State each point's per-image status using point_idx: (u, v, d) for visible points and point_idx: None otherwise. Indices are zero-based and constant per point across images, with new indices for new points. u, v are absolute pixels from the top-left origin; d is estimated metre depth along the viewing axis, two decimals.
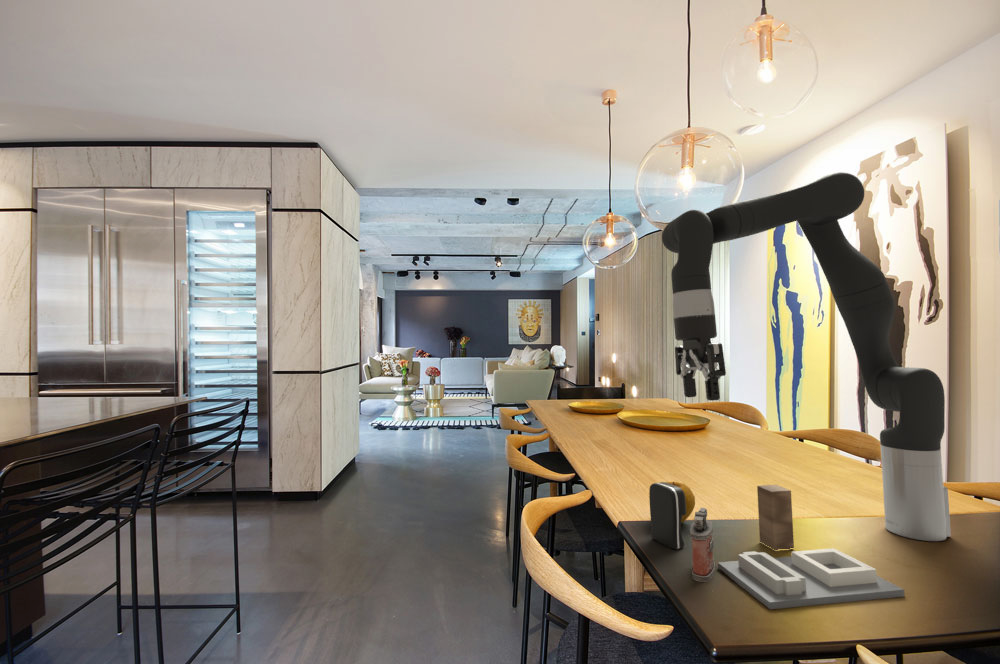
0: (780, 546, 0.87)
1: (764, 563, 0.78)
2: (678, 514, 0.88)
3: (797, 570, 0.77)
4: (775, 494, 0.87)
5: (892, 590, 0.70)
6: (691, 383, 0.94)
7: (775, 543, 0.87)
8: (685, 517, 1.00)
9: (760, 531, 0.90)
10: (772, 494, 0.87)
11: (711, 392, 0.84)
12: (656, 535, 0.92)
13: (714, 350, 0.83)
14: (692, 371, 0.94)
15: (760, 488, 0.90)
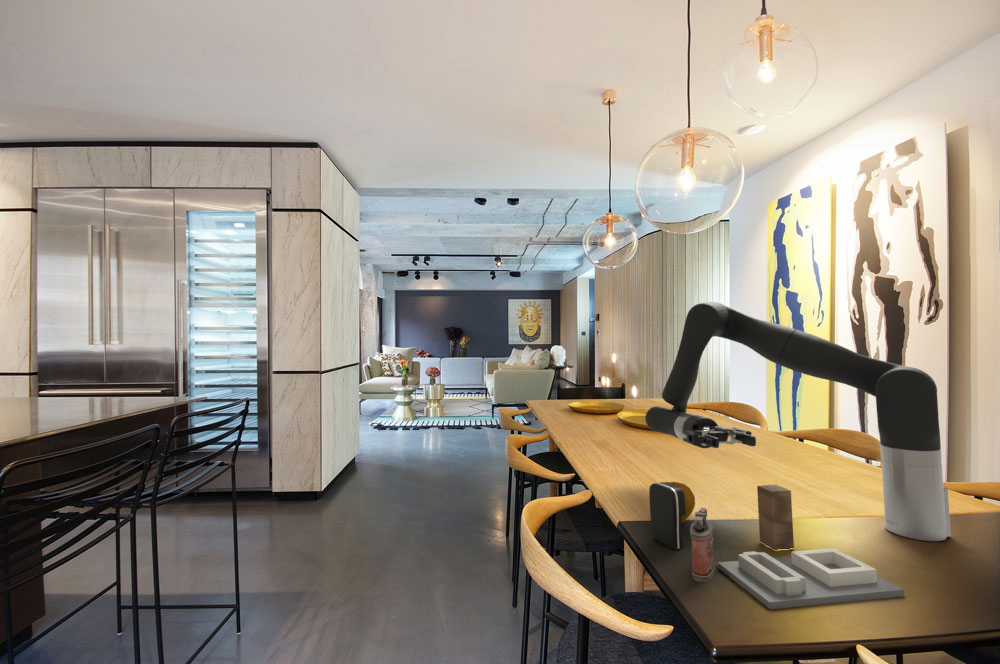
0: (780, 546, 0.87)
1: (764, 563, 0.78)
2: (678, 514, 0.88)
3: (797, 570, 0.77)
4: (775, 494, 0.87)
5: (892, 590, 0.70)
6: (744, 438, 1.04)
7: (775, 543, 0.87)
8: (685, 517, 1.00)
9: (760, 531, 0.90)
10: (772, 494, 0.87)
11: None
12: (656, 535, 0.92)
13: (684, 437, 1.09)
14: (738, 434, 1.06)
15: (760, 488, 0.90)
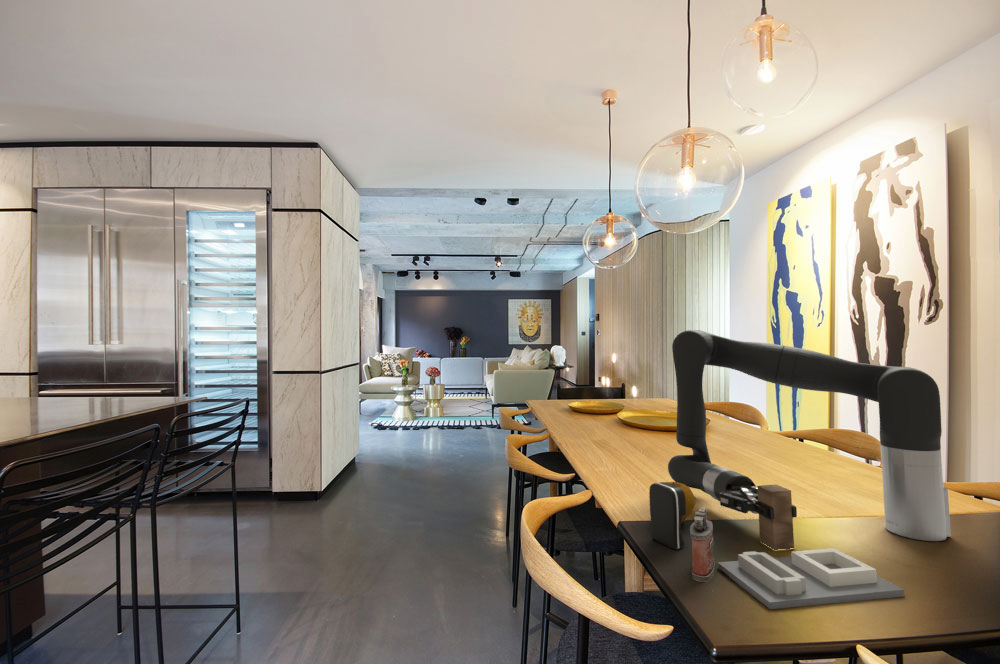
0: (780, 546, 0.87)
1: (764, 563, 0.78)
2: (678, 514, 0.88)
3: (797, 570, 0.77)
4: (775, 494, 0.87)
5: (892, 590, 0.70)
6: None
7: (776, 543, 0.87)
8: (685, 517, 1.00)
9: (760, 531, 0.90)
10: (772, 494, 0.87)
11: None
12: (656, 535, 0.92)
13: (724, 502, 0.94)
14: None
15: (760, 488, 0.90)
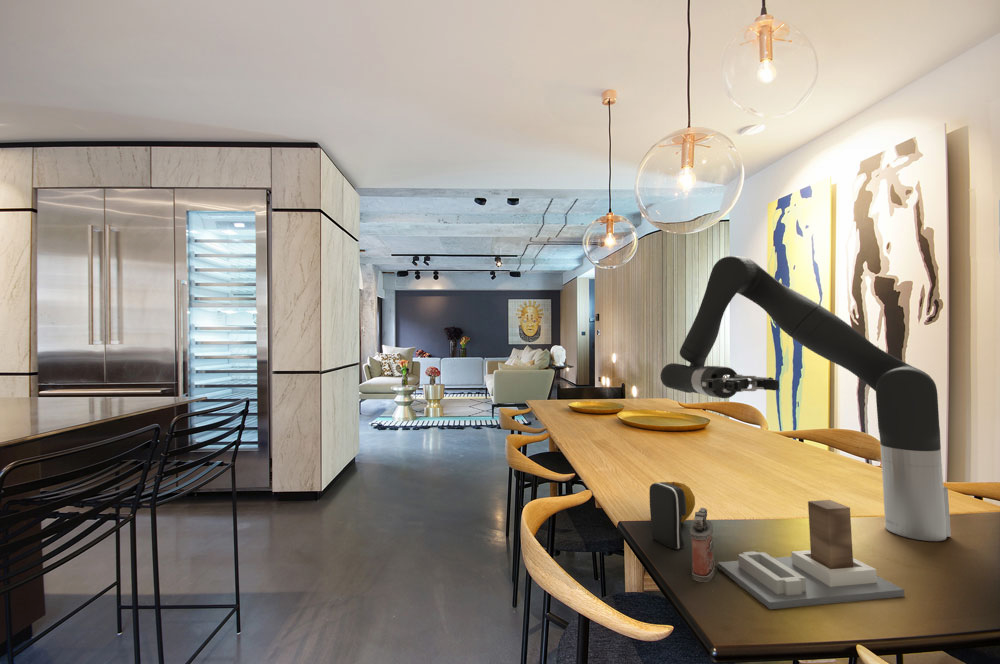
0: None
1: (764, 563, 0.78)
2: (678, 514, 0.88)
3: (797, 570, 0.77)
4: (832, 512, 0.74)
5: (892, 590, 0.70)
6: (766, 383, 1.01)
7: None
8: (685, 517, 1.00)
9: (812, 554, 0.77)
10: (828, 512, 0.74)
11: None
12: (656, 535, 0.92)
13: (703, 385, 1.06)
14: None
15: (812, 504, 0.77)
